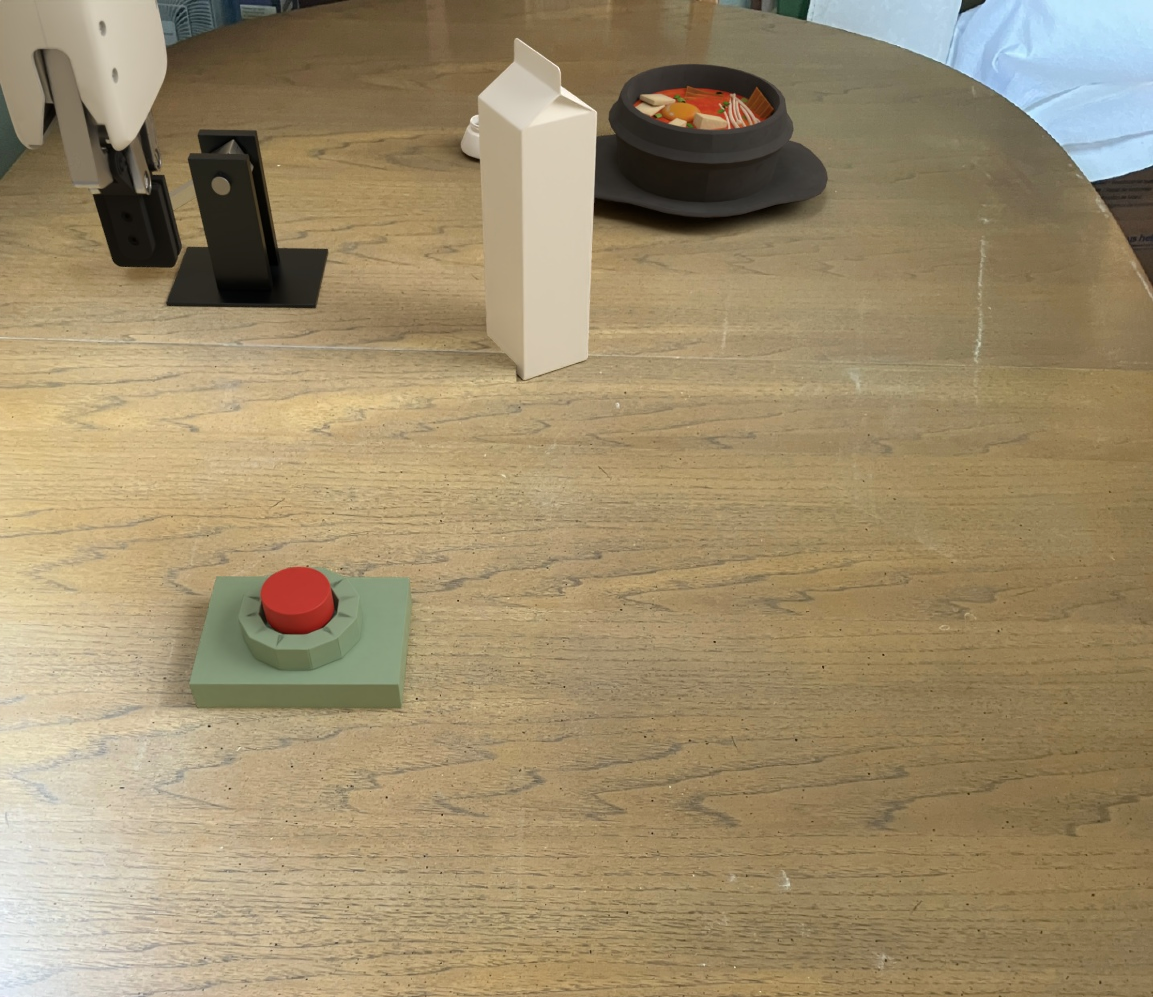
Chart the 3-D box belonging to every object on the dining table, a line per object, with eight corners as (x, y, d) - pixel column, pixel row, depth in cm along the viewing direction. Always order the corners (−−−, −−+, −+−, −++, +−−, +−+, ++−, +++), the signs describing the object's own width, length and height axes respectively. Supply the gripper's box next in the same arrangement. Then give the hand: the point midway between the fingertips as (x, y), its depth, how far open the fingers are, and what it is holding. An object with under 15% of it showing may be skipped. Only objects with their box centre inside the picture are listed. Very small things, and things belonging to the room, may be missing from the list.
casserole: (806, 145, 117) (822, 55, 110) (840, 238, 105) (860, 143, 98) (560, 143, 115) (561, 51, 109) (566, 236, 104) (568, 140, 97)
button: (260, 635, 66) (255, 614, 65) (270, 587, 69) (265, 565, 68) (330, 635, 67) (326, 614, 65) (337, 587, 69) (334, 566, 68)
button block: (197, 708, 68) (180, 662, 64) (223, 601, 73) (209, 554, 70) (402, 709, 68) (395, 663, 65) (412, 602, 74) (406, 555, 71)
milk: (549, 324, 95) (554, 27, 78) (588, 361, 91) (602, 59, 74) (484, 344, 92) (474, 43, 75) (522, 382, 89) (520, 77, 72)
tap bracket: (169, 316, 94) (129, 170, 85) (190, 259, 99) (155, 116, 90) (317, 318, 94) (294, 172, 85) (329, 261, 100) (309, 119, 91)
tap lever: (125, 262, 93) (95, 228, 91) (134, 242, 95) (105, 209, 93) (252, 187, 89) (224, 149, 86) (258, 168, 91) (231, 130, 88)
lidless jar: (516, 160, 113) (506, 138, 116) (516, 129, 110) (505, 107, 114) (466, 164, 112) (457, 142, 115) (464, 133, 110) (455, 111, 113)
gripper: (-13, -236, 50) (109, 189, 64) (-143, -132, 40) (35, 339, 54) (163, -231, 50) (246, 191, 64) (76, -126, 40) (195, 341, 55)
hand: (149, 258), depth 59 cm, fingers closed
